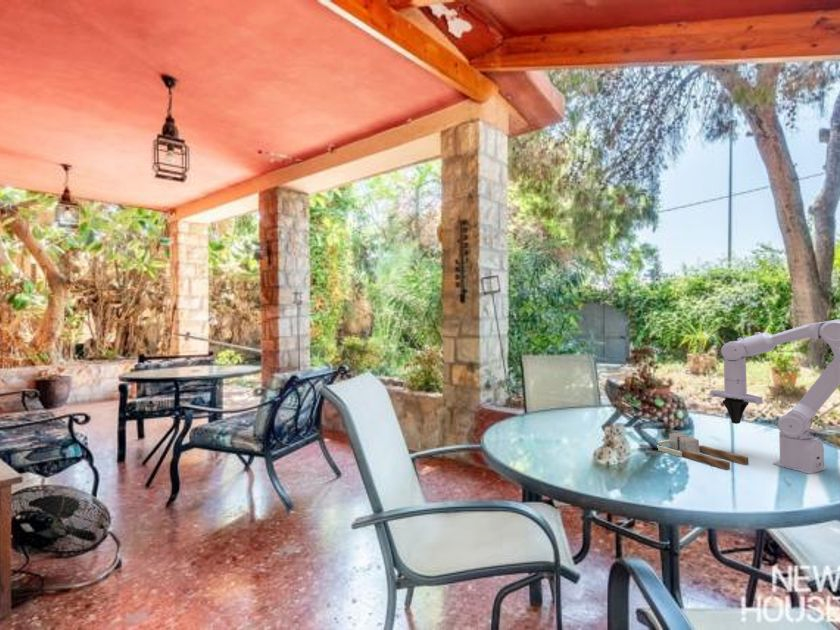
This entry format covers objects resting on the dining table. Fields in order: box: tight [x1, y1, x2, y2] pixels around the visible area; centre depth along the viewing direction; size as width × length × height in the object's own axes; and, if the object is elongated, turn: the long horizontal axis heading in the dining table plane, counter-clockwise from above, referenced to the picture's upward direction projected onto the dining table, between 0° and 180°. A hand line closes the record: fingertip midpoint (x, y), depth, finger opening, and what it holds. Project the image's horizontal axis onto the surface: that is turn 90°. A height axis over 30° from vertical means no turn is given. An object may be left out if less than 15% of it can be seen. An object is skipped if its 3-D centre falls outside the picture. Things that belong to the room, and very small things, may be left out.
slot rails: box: [680, 445, 750, 471], centre depth 140 cm, size 14×10×2 cm
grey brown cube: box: [678, 436, 700, 454], centre depth 149 cm, size 4×4×4 cm
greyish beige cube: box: [668, 432, 690, 451], centre depth 153 cm, size 4×4×4 cm
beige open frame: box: [657, 439, 701, 458], centre depth 151 cm, size 11×12×2 cm
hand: (735, 423), depth 145 cm, fingers closed
